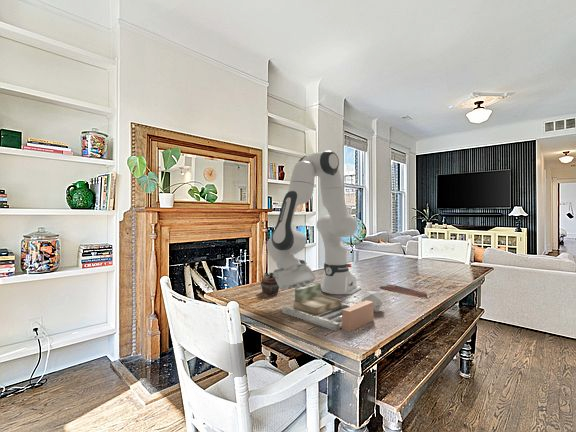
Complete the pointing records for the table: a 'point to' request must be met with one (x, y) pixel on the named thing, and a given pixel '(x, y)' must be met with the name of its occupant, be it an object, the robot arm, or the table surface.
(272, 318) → the table surface
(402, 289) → the wooden tablet
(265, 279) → the cupcake
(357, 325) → the block
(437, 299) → the table surface
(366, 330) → the table surface
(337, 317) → the roller track
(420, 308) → the table surface
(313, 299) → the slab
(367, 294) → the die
